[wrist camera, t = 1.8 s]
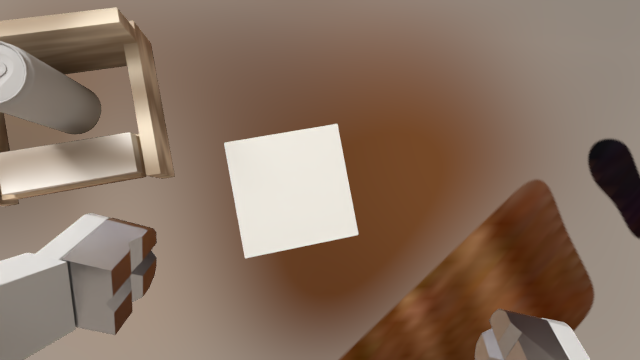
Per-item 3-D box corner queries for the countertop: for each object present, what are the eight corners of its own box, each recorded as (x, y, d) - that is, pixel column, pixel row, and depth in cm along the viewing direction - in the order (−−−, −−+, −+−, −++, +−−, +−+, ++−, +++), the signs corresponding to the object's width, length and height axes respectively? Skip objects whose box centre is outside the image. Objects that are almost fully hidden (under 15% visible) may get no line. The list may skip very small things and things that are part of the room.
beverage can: (41, 110, 38) (-65, 69, 26) (80, 77, 38) (-7, 23, 27) (77, 145, 38) (-12, 120, 26) (114, 112, 39) (44, 74, 27)
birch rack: (174, 176, 39) (145, 170, 30) (5, 206, 37) (-80, 208, 28) (150, 42, 39) (115, -3, 31) (-19, 65, 37) (-110, 23, 29)
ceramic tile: (357, 234, 41) (358, 234, 41) (245, 257, 40) (245, 258, 39) (336, 124, 41) (337, 123, 41) (224, 143, 40) (223, 142, 39)
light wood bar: (154, 177, 39) (138, 174, 34) (23, 199, 37) (-10, 200, 33) (146, 135, 39) (130, 127, 35) (16, 156, 37) (-19, 150, 33)
